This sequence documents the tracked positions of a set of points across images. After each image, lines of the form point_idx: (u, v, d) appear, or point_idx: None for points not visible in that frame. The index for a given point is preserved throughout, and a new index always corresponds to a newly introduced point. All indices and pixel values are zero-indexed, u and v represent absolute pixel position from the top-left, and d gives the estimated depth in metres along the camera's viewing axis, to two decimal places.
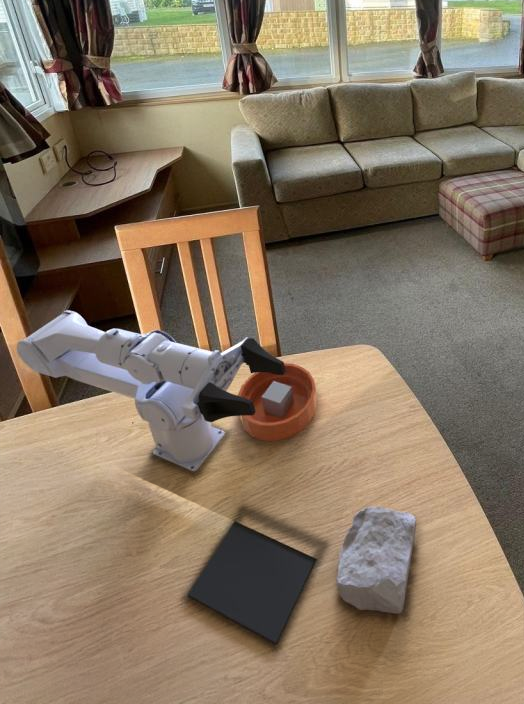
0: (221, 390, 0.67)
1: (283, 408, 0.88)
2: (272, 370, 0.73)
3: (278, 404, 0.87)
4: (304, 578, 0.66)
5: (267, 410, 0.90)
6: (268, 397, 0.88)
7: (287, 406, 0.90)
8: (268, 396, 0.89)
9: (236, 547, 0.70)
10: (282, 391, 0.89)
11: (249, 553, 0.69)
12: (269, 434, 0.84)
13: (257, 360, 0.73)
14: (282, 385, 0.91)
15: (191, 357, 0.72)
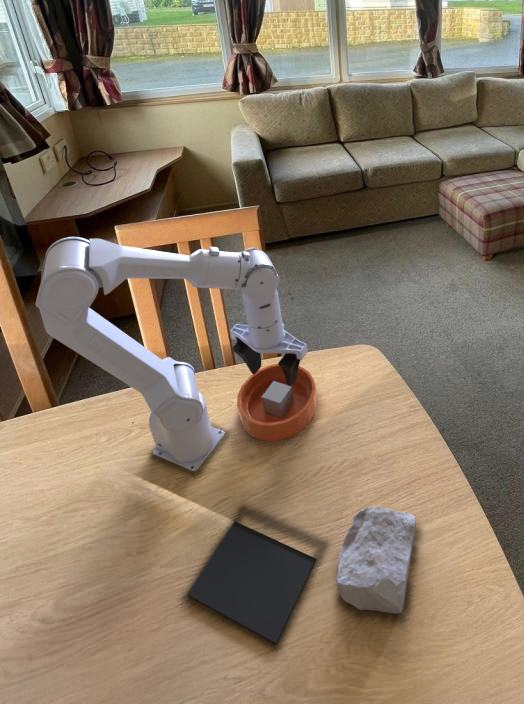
0: None
1: (283, 408, 0.88)
2: (253, 365, 0.87)
3: (278, 404, 0.87)
4: (304, 578, 0.66)
5: (267, 410, 0.90)
6: (268, 397, 0.88)
7: (287, 406, 0.90)
8: (268, 396, 0.89)
9: (236, 547, 0.70)
10: (282, 391, 0.89)
11: (249, 553, 0.69)
12: (269, 434, 0.84)
13: None
14: (282, 385, 0.91)
15: None
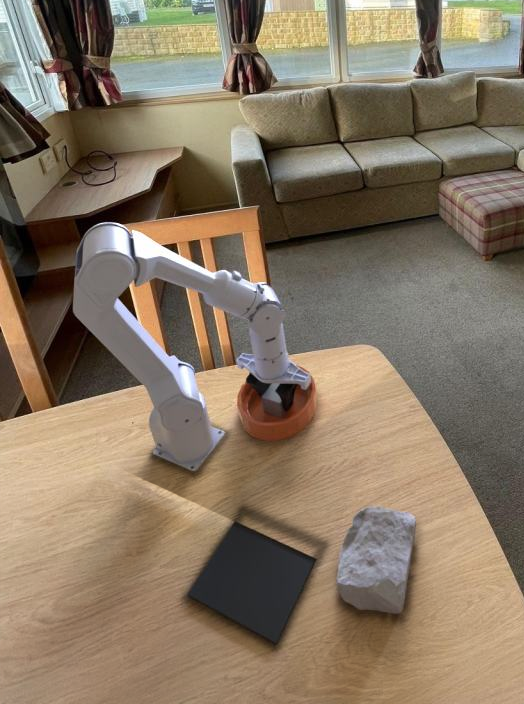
0: None
1: (282, 408, 0.88)
2: None
3: (278, 404, 0.87)
4: (304, 578, 0.66)
5: (267, 410, 0.90)
6: (267, 397, 0.88)
7: None
8: (268, 396, 0.89)
9: (236, 547, 0.70)
10: None
11: (249, 553, 0.69)
12: (269, 434, 0.84)
13: None
14: None
15: None
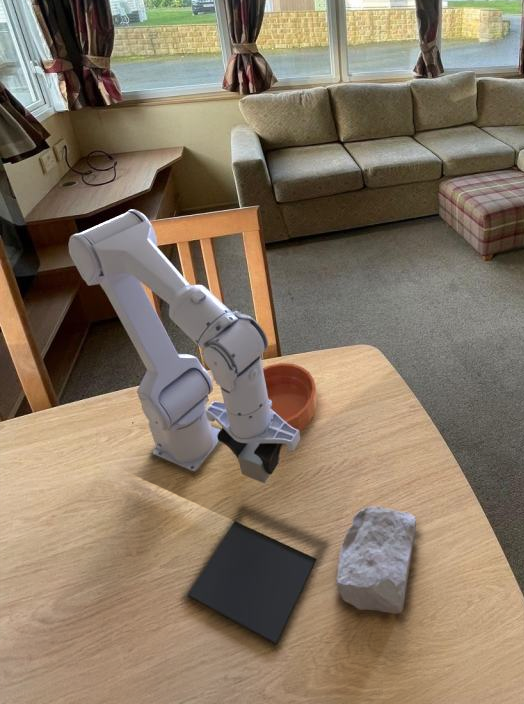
0: None
1: None
2: None
3: (259, 467, 0.69)
4: (304, 578, 0.66)
5: (245, 472, 0.71)
6: (246, 457, 0.70)
7: None
8: (246, 455, 0.70)
9: (236, 547, 0.70)
10: None
11: (249, 553, 0.69)
12: None
13: None
14: None
15: None
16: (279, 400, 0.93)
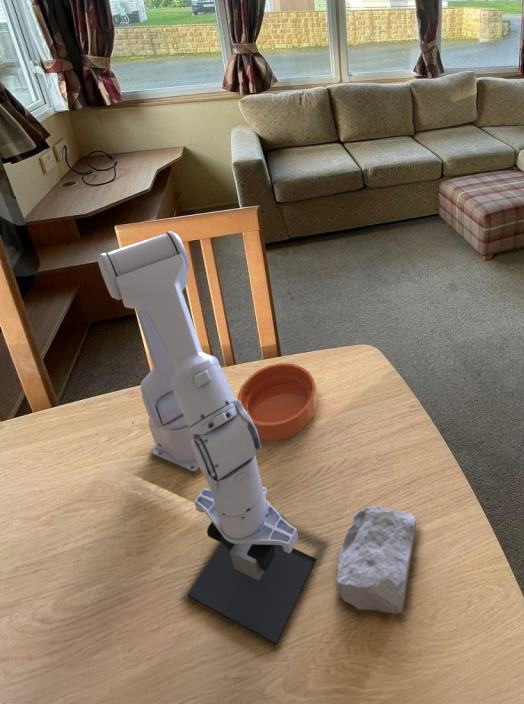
0: None
1: (259, 567, 0.64)
2: None
3: (253, 565, 0.63)
4: (304, 578, 0.66)
5: (238, 567, 0.65)
6: (238, 552, 0.63)
7: None
8: (239, 550, 0.64)
9: None
10: None
11: None
12: (269, 434, 0.84)
13: None
14: None
15: None
16: (279, 400, 0.93)
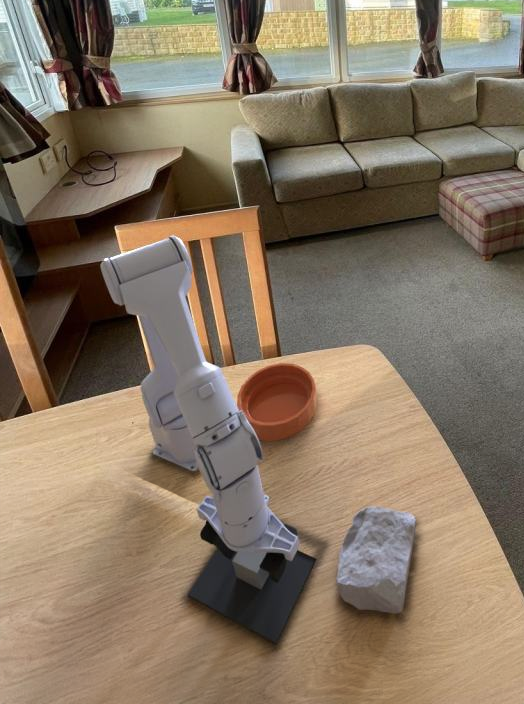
0: None
1: (261, 576, 0.64)
2: (228, 549, 0.66)
3: (255, 574, 0.63)
4: (304, 578, 0.66)
5: (240, 576, 0.66)
6: (241, 561, 0.64)
7: None
8: (241, 559, 0.65)
9: None
10: None
11: None
12: (269, 434, 0.84)
13: None
14: None
15: None
16: (279, 400, 0.93)
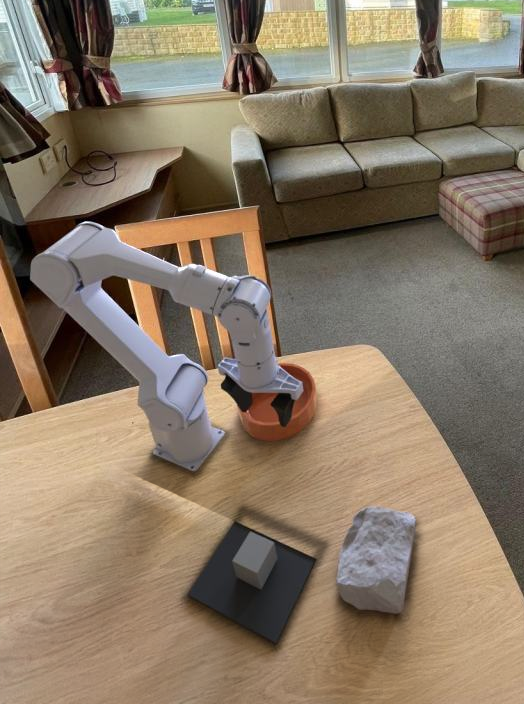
0: None
1: (261, 576, 0.64)
2: (243, 403, 0.79)
3: (255, 574, 0.63)
4: (304, 578, 0.66)
5: (240, 576, 0.66)
6: (241, 561, 0.64)
7: (267, 570, 0.66)
8: (241, 559, 0.65)
9: (236, 547, 0.70)
10: (261, 551, 0.65)
11: None
12: (269, 434, 0.84)
13: None
14: (261, 539, 0.67)
15: None
16: None
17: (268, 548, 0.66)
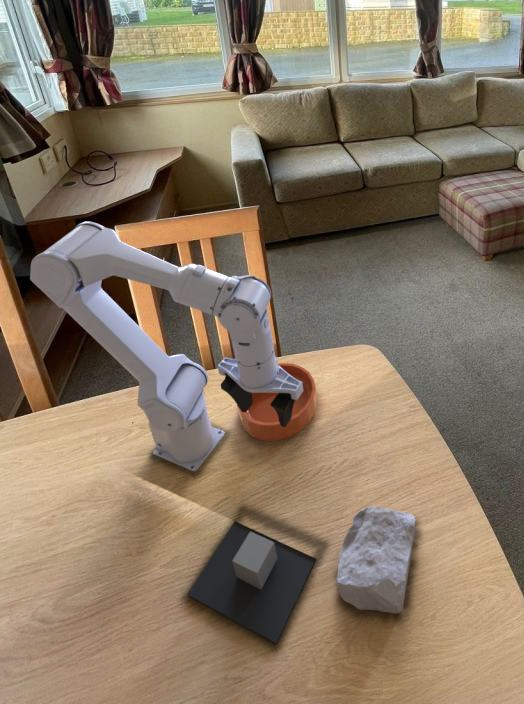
0: None
1: (261, 576, 0.64)
2: (243, 403, 0.79)
3: (255, 574, 0.63)
4: (304, 578, 0.66)
5: (240, 576, 0.66)
6: (241, 561, 0.64)
7: (267, 570, 0.66)
8: (241, 559, 0.65)
9: (236, 547, 0.70)
10: (261, 551, 0.65)
11: None
12: (269, 434, 0.84)
13: None
14: (261, 539, 0.67)
15: None
16: None
17: (268, 548, 0.66)
